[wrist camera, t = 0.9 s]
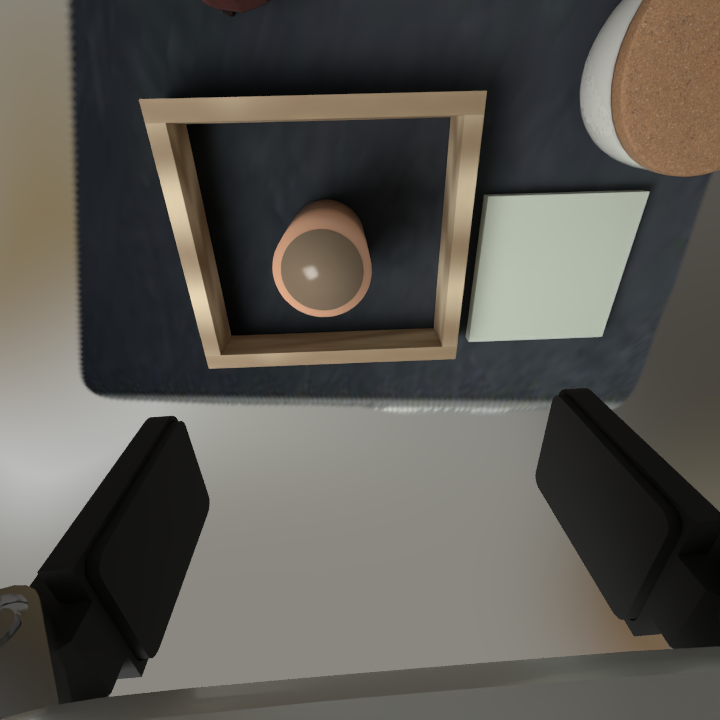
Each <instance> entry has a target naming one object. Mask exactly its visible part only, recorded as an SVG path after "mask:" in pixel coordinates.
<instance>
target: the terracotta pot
mask: <svg viewBox="0 0 720 720" xmlns="http://www.w3.org/2000/svg"><path fill="white" fill-rule="evenodd" d="M371 275H372V266H371V260H370V255H369V251H368V246H367V241H366V237H365V232H364V228H363V225H362V223H361V221H360V219H359V218H358V216H357V215H356V214H355V212H354V211H353V210H352V209H350V208H349V207H348V206H346V205H345V204H343V203H341V202H338V201H335V200H327V199H323V200H317V201H313V202H311V203H309V204H307V205H305V206H304V207H303V208H301V209H300V210H299V211H298V212H297V214H296V215H295V217H294V218H293V220H292V222H291V223H290V225H289V227H288V229H287V230H286V232H285V234H284V235H283V237H282V239H281V241H280V242H279V244H278V246H277V248H276V251H275V254H274V258H273V276H274V280H275V283H276V286H277V288H278V290H279V292H280V293H281V295H282V296H283V297H284V299H285V300H286V301H287V302H288V303H289V304H290V305H291V306H293V307H294V308H296V309H297V310H299V311H301V312H303V313H305V314H308V315H312V316H317V317H331V316H336V315H340V314H342V313H345V312H347V311H349V310H350V309H352V308H353V307H354V306H356V305H357V304H358V303H359V302H360V301H361V299H362V298H363V297H364V295H365V294H366V292H367V290H368V287H369V285H370V281H371Z"/></svg>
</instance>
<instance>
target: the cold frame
mask: <svg viewBox="0 0 720 720" xmlns="http://www.w3.org/2000/svg"><path fill="white" fill-rule="evenodd" d="M486 95H487V91H454V92H414V93H374V94H333V95H293V96H253V97H213V98H172V99H139V102H140V106H141V109H142V113H143V117H144V121H145V125H146V129H147V133H148V136H149V140H150V144H151V148H152V152H153V156H154V159H155V163H156V167H157V171H158V175H159V179H160V182H161V186H162V190H163V194H164V198H165V202H166V206H167V209H168V213H169V217H170V221H171V225H172V229H173V232H174V236H175V240H176V244H177V248H178V252H179V255H180V259H181V263H182V267H183V271H184V275H185V279H186V282H187V286H188V290H189V294H190V298H191V302H192V305H193V309H194V313H195V317H196V321H197V325H198V328H199V332H200V336H201V340H202V344H203V348H204V352H205V355H206V359H207V363H208V367H209V369H211V368H237V367H262V366H287V365H312V364H338V363H363V362H388V361H413V360H439V359H455V358H456V350H457V341H458V333H459V324H460V316H461V307H462V299H463V290H464V282H465V273H466V265H467V256H468V248H469V239H470V231H471V222H472V214H473V205H474V197H475V189H476V180H477V172H478V163H479V155H480V146H481V138H482V129H483V121H484V112H485V104H486ZM441 117H451V120H450V133H449V145H448V157H447V170H446V182H445V194H444V207H443V219H442V231H441V244H440V256H439V268H438V281H437V293H436V305H435V317H434V328H424V329H398V330H371V331H345V332H318V333H292V334H265V335H239V336H231V332H230V327H229V322H228V318H227V313H226V308H225V304H224V299H223V294H222V290H221V285H220V280H219V276H218V271H217V266H216V262H215V257H214V252H213V248H212V243H211V238H210V234H209V229H208V224H207V220H206V215H205V211H204V206H203V201H202V197H201V192H200V187H199V183H198V178H197V173H196V169H195V164H194V159H193V155H192V150H191V145H190V141H189V136H188V131H187V127H186V124H213V123H251V122H289V121H327V120H365V119H403V118H441Z"/></svg>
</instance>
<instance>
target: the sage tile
mask: <svg viewBox="0 0 720 720" xmlns="http://www.w3.org/2000/svg"><path fill="white" fill-rule="evenodd" d="M649 192H650V191H644V190H618V191H585V192H553V193H520V194H487V195H484V198H483V206H482V214H481V222H480V229H479V237H478V245H477V253H476V260H475V268H474V276H473V284H472V291H471V299H470V307H469V315H468V322H467V330H466V338H467V340H468V342H480V341H506V340H532V339H557V338H583V337H602V335H603V332H604V329H605V326H606V323H607V320H608V317H609V314H610V311H611V308H612V305H613V302H614V299H615V296H616V293H617V290H618V286H619V283H620V280H621V277H622V274H623V271H624V268H625V265H626V262H627V259H628V256H629V253H630V250H631V247H632V244H633V241H634V238H635V235H636V232H637V229H638V226H639V223H640V220H641V217H642V214H643V211H644V208H645V205H646V202H647V199H648V195H649Z"/></svg>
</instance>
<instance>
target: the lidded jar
mask: <svg viewBox="0 0 720 720" xmlns="http://www.w3.org/2000/svg"><path fill="white" fill-rule="evenodd" d="M580 108H581V115H582V119H583V122H584V125H585V128H586V129H587V131H588V133H589V135H590V137H591V139H592V140H593V141H594V143H595V144H596V145H597V146H598V147H599V148H600V149H601V150H602V151H603V152H605V153H606V154H607V155H609V156H610V157H612V158H613V159H615V160H617V161H620V162H622V163H624V164H627V165H629V166H632V167H636V168H640V169H645V170H650V171H652V172H656V173H660V174H664V175H670V176H687V177H689V176H696V175H704V174H707V173H711V172H714V171H717V170H720V0H622V1H621V2H620V3H619V5H618V6H617V7H616V8H615V9H614V10H613V12H612V13H611V15H610V16H609V18H608V19H607V21H606V22H605V24H604V25H603V27H602V28H601V30H600V32H599V33H598V35H597V37H596V39H595V41H594V43H593V45H592V47H591V50H590V52H589V55H588V57H587V60H586V63H585V66H584V70H583V74H582V79H581V86H580Z"/></svg>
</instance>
